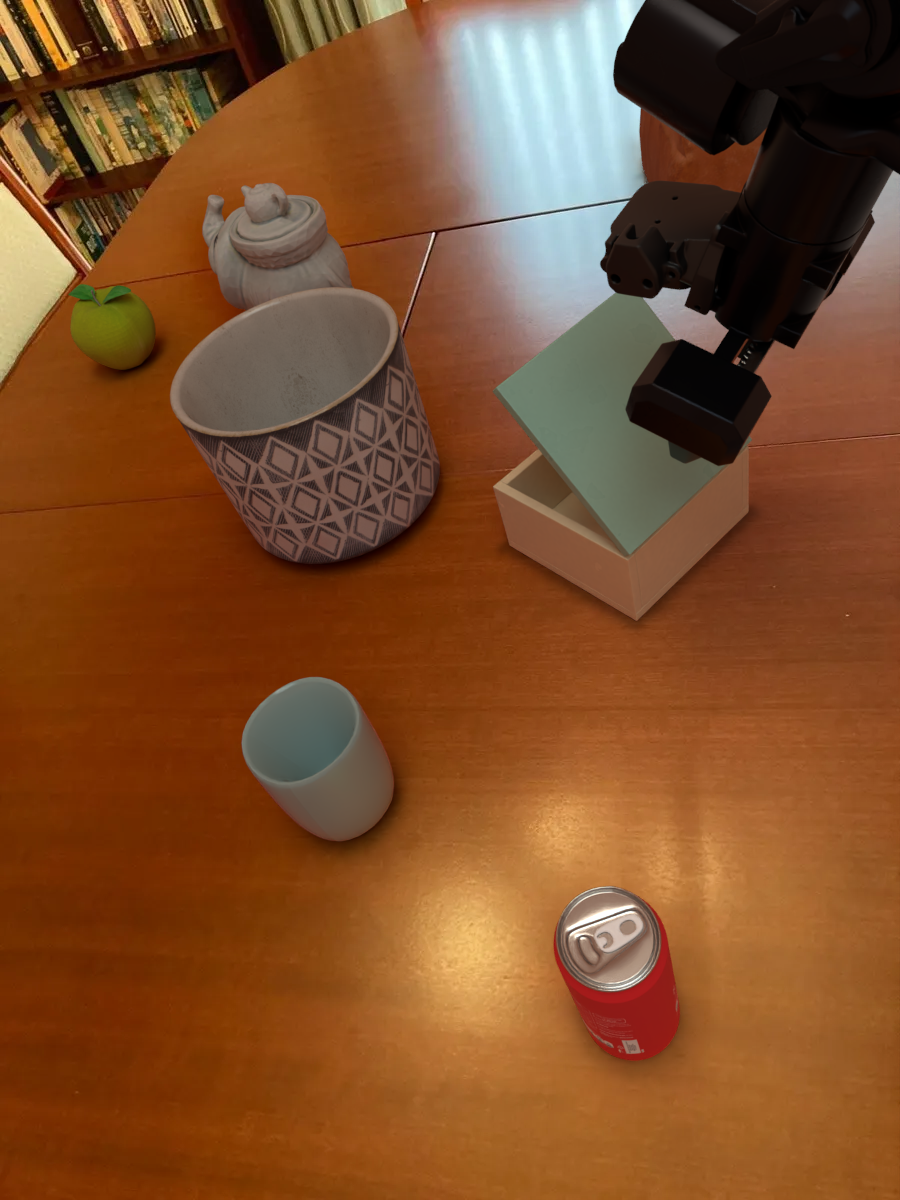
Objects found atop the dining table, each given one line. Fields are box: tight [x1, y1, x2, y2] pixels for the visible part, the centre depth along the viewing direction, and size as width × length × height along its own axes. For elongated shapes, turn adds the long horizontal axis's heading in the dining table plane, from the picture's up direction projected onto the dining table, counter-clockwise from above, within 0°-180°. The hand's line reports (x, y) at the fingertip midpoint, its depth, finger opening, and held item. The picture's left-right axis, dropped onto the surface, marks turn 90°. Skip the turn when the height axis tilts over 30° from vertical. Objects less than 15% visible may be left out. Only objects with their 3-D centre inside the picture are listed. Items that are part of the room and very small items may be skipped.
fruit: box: [67, 283, 157, 371], centre depth 107 cm, size 9×9×10 cm
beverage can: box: [552, 885, 681, 1062], centre depth 44 cm, size 5×5×12 cm
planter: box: [169, 287, 441, 565], centre depth 76 cm, size 19×19×16 cm
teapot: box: [201, 182, 355, 311], centre depth 97 cm, size 16×15×19 cm
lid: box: [492, 292, 753, 556], centre depth 61 cm, size 14×14×1 cm
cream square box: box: [492, 445, 750, 622], centre depth 69 cm, size 14×14×7 cm
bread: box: [638, 108, 767, 193], centre depth 96 cm, size 17×24×15 cm
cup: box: [240, 676, 395, 842], centre depth 58 cm, size 8×8×10 cm
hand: (711, 406), depth 55 cm, fingers open, 9 cm apart
